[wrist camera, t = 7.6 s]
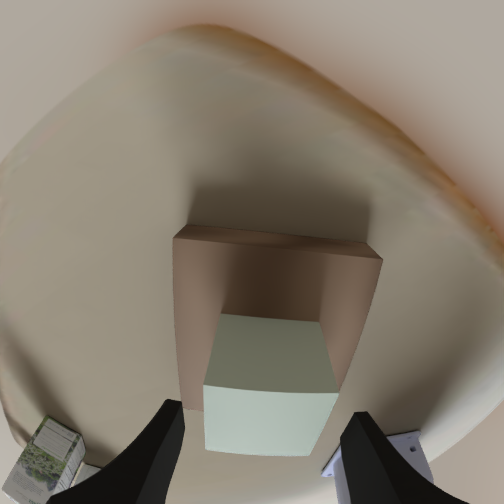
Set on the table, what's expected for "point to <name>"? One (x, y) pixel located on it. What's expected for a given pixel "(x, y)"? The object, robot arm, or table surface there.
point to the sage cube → (267, 386)
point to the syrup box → (45, 464)
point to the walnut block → (266, 291)
